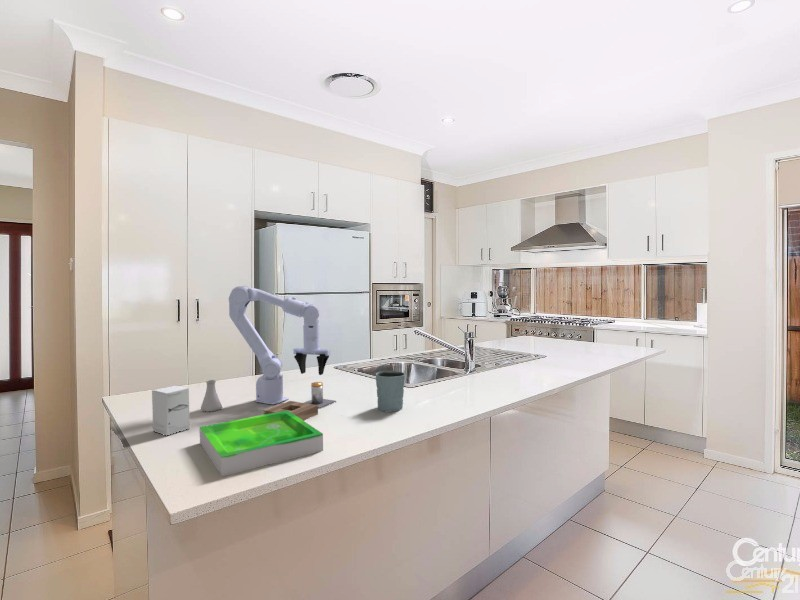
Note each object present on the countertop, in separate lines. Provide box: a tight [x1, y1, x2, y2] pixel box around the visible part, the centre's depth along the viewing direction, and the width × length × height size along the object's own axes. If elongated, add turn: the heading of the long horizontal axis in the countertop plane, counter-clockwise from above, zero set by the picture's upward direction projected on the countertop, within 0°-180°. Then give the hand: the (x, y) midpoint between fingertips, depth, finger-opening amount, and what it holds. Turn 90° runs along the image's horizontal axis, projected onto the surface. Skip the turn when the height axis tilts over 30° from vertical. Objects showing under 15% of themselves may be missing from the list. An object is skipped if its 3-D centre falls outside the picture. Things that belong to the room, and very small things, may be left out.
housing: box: [263, 400, 319, 421], centre depth 141 cm, size 12×12×3 cm
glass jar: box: [310, 381, 324, 404], centre depth 155 cm, size 4×4×7 cm
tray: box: [198, 410, 324, 477], centre depth 116 cm, size 25×25×5 cm
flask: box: [200, 379, 224, 413], centre depth 150 cm, size 7×7×10 cm
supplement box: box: [151, 385, 191, 437], centre depth 128 cm, size 7×7×13 cm
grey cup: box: [375, 370, 406, 413], centre depth 149 cm, size 10×10×12 cm
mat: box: [303, 398, 337, 409], centre depth 156 cm, size 9×9×1 cm
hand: (312, 373), depth 162 cm, fingers open, 7 cm apart
